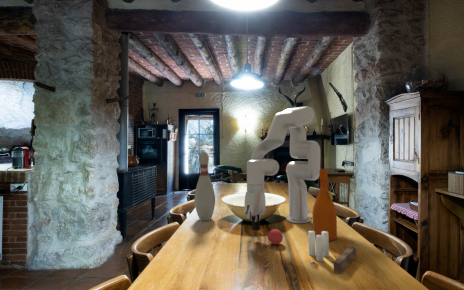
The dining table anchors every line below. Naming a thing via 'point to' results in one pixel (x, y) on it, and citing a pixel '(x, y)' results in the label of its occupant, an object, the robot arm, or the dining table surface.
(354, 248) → the brown wooden block
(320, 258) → the pin
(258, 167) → the robot arm
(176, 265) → the dining table surface
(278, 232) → the ball
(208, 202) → the bowling pin
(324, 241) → the pin
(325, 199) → the wine bottle
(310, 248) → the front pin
